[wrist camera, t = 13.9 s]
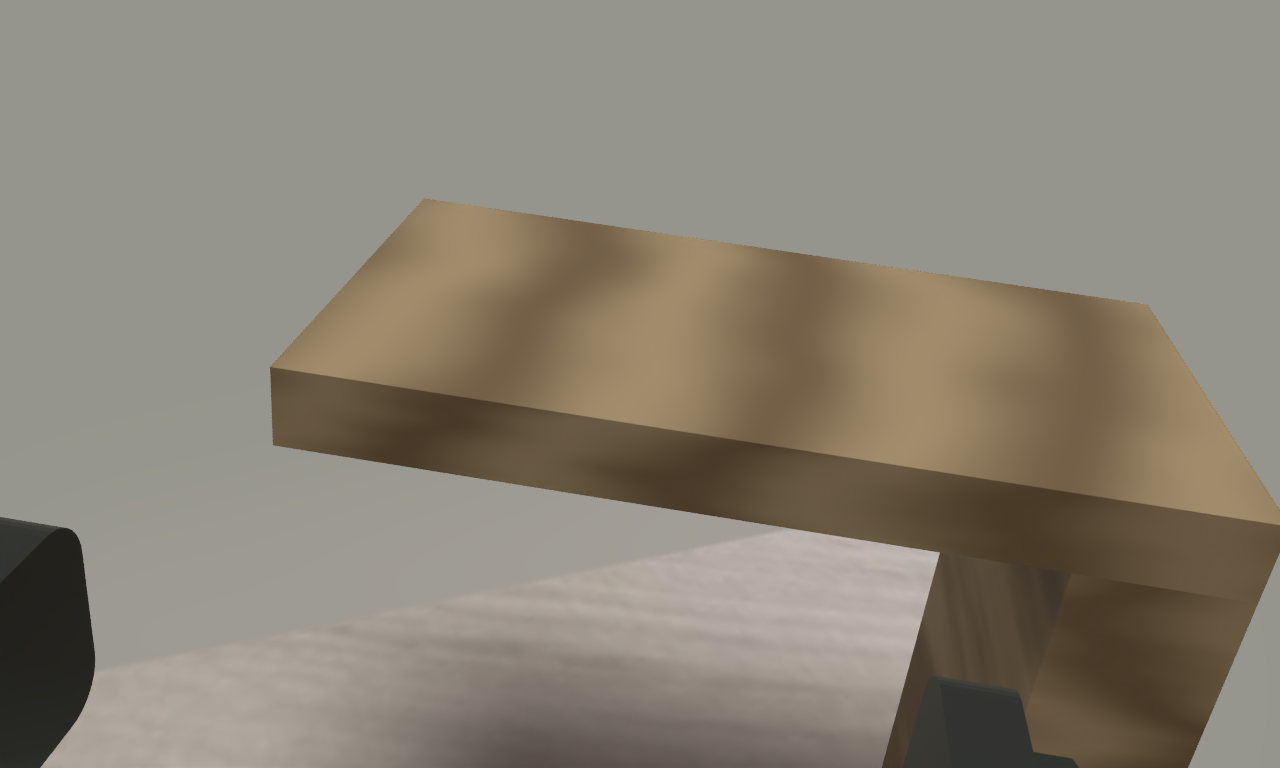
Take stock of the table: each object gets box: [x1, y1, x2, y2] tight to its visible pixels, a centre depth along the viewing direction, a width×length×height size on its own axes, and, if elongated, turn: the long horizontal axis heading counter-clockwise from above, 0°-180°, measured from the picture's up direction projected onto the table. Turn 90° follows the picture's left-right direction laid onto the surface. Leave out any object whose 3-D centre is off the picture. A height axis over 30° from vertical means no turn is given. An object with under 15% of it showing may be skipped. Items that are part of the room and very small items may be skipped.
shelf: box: [270, 199, 1280, 768], centre depth 36 cm, size 22×12×21 cm, turn 83°
